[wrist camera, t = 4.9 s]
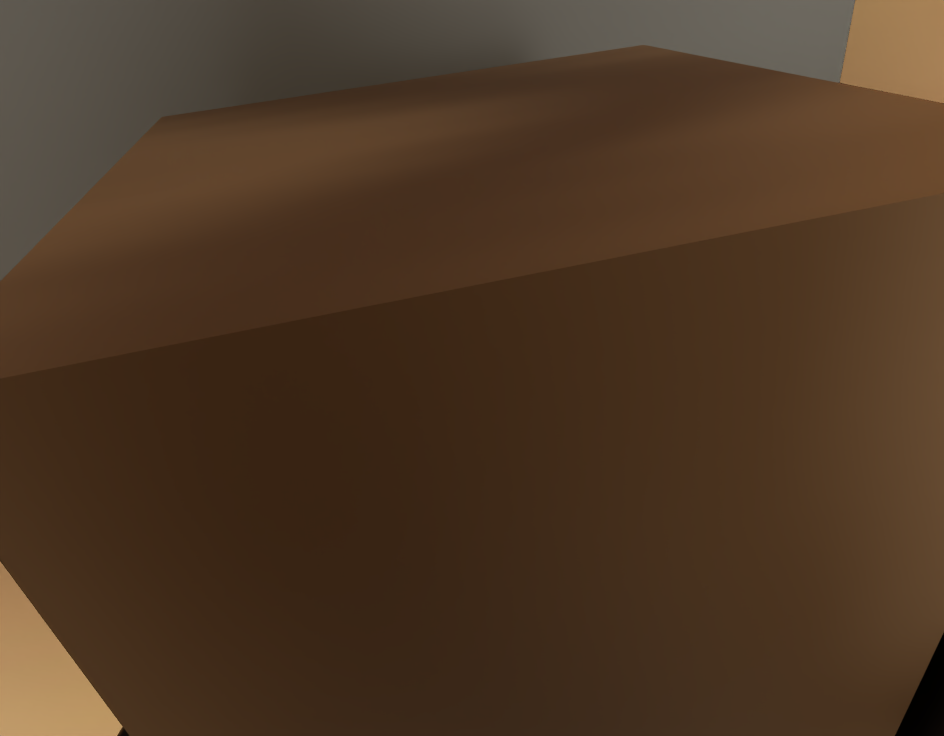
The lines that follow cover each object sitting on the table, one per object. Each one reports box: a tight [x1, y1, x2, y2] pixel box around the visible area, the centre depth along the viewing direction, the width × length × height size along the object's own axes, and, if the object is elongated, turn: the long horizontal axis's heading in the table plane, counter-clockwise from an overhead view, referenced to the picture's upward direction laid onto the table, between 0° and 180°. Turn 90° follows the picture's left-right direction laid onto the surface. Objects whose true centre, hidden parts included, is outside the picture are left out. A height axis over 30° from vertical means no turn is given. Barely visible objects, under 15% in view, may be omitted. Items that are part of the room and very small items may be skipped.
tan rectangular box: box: [0, 45, 944, 736], centre depth 7 cm, size 5×10×5 cm, turn 7°
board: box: [0, 0, 855, 281], centre depth 8 cm, size 15×18×5 cm
